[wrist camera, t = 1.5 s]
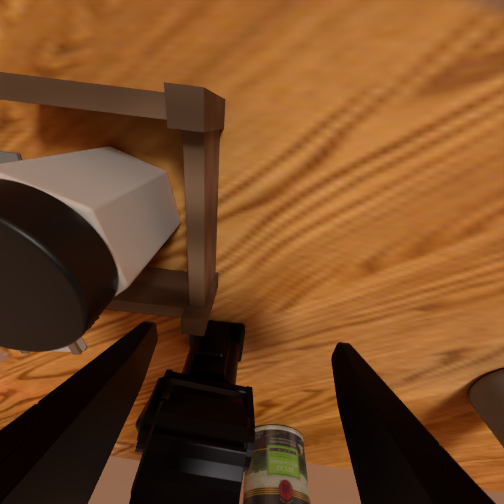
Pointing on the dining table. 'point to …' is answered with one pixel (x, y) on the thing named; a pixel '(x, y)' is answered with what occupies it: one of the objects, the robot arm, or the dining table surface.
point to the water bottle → (490, 402)
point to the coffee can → (277, 468)
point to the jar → (75, 240)
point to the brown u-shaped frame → (195, 175)
